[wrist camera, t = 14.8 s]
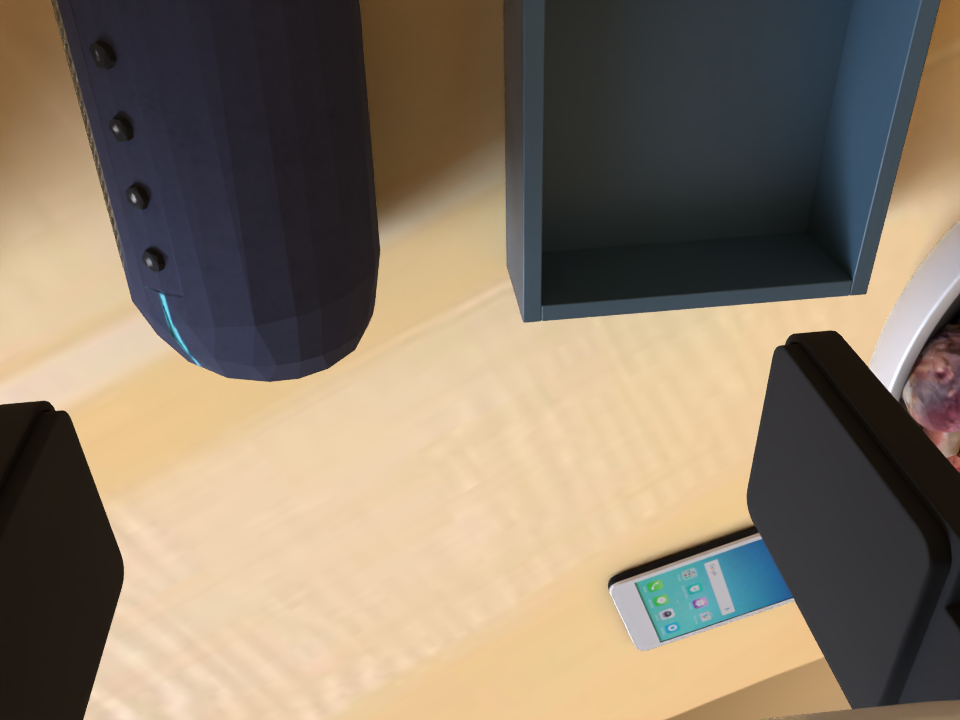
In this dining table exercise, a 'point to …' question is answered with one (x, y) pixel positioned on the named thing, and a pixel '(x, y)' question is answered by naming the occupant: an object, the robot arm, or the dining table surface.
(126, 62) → the portable speaker
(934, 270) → the bowl
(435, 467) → the dining table surface
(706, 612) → the smartphone
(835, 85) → the blue open storage box
